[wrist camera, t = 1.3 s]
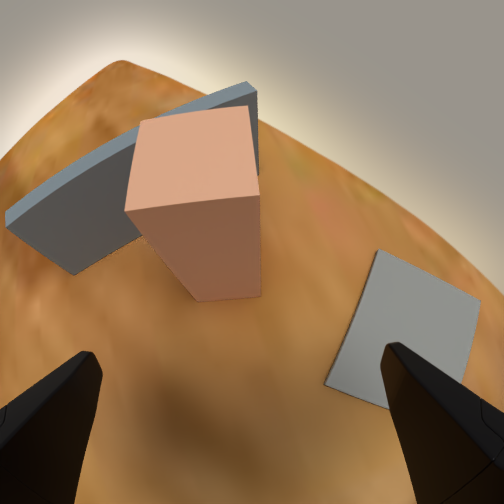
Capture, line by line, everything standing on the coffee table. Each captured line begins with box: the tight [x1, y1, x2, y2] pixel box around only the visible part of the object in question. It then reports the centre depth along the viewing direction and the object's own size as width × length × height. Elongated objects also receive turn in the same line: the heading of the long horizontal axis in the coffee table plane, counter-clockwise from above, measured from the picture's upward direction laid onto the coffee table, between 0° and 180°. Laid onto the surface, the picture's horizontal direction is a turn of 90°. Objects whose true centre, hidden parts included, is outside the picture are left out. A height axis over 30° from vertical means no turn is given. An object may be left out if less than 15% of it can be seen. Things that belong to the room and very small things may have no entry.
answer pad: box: [324, 249, 481, 409], centre depth 21 cm, size 12×12×1 cm
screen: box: [5, 81, 259, 275], centre depth 22 cm, size 20×2×10 cm, turn 120°
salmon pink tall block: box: [124, 106, 261, 302], centre depth 18 cm, size 5×5×14 cm
